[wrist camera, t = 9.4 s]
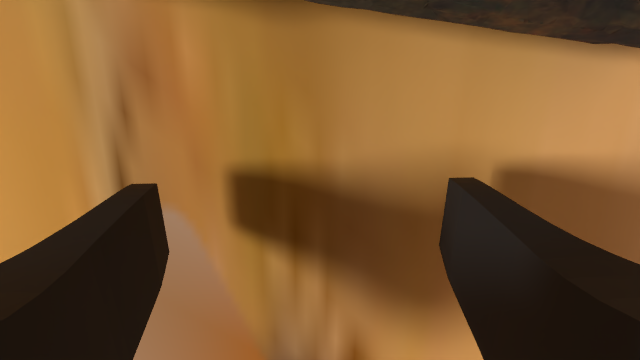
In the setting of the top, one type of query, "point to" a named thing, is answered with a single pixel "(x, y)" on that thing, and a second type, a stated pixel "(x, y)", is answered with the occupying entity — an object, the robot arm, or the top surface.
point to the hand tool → (524, 16)
